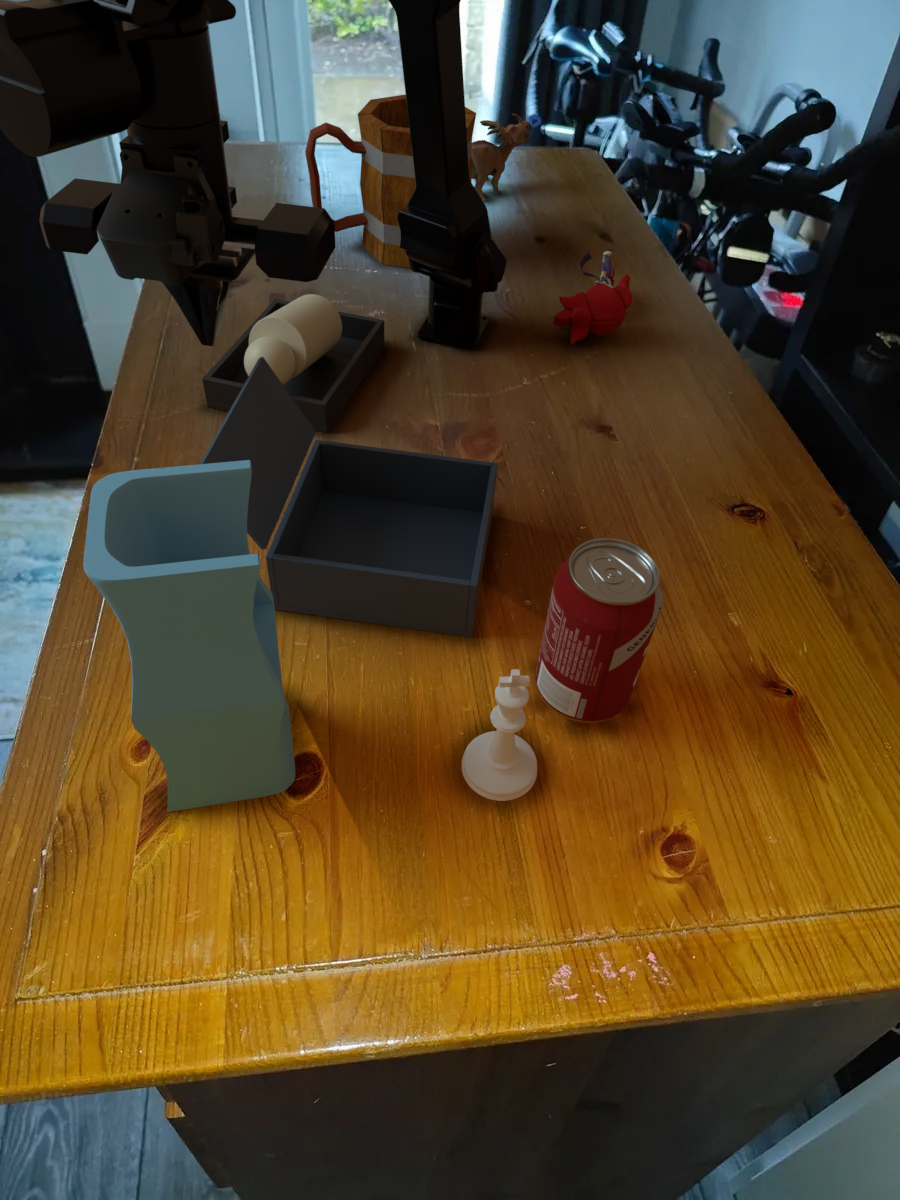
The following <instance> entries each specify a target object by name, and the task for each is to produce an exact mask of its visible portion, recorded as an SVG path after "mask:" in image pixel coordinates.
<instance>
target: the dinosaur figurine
mask: <svg viewBox="0 0 900 1200" xmlns="http://www.w3.org/2000/svg"><path fill="white" fill-rule="evenodd" d="M511 116H513V117H514V118H515V119H516V120H517V122H518V123H517V124H514V123H510V124H508V125H507V126H505V127H504V126H503V125H500V124H501V122H500V121H499V120H496V121H493V120H488V119H487V120H485V119H484V120H480V121H479V124H480V125H481V126H483V127H487V131H488V130H489V131H488V132H487V134H486V136H489V135H493V134H496V135H495V138H494V143H495V144H494V143H492V142H490V141H487V140H485V139H480V140H479V139H478V140H475V141H472V149H471V178H472V180H475V185H474V188H475V189H476V191H477V192H478V194H479V196H480V197H481V199H482V201H483V202H488V201H489V200H490V197H489V196H488V195H487V193H486V194H485V192H484V191H483V187H484V185H485V183H486V182H488V180H490V178H489V176H490V177H492V178H491V186H492V190H493V193H495V194H496V195H503V192H501V190H499V181H500V179H501V177H502V174H503V173H504V172H505V170H506V163H507V161H508V159H509V157H510V155H511V154H512V152H513V150H514V149H515V148H516V147H518V146H520V144H528V143H529V142H530V140H531V139H530V137H529V136H530V133H529V131H532V130H533V126H532V124H531V123H529V122H528V121H526V120H523V119H522V117H521V116H520V115H518V114H517V113H512V114H511ZM499 138H500V144H499V145H497V144H496V142H497V141H498V140H499Z"/></svg>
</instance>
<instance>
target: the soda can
mask: <svg viewBox="0 0 900 1200" xmlns="http://www.w3.org/2000/svg"><path fill="white" fill-rule="evenodd" d="M660 579H661V572H660V569H659V566H658V564H657V562H656V561H655V559H654V558H653V557H652V556H651V555H650V553H649V552H647V551H646V550H645V549H643V548H641V547H640V546H638V545H636V544H635V543H632V542H630V541H627V540H623V539H620V538H615V537H614V538H613V537H601V538H600V537H598V538H593V539H588V540H586V541H585V542H582V543H581V544H579V545H577V547H575V548H574V549H573V550H572V552H571V554H570V556H569V558H568V559H567V560H565V562H563V563H562V564H561V566H560V567H559V568H558V570H557V572H556V574H555V576H554V579H553V584H552V589H551V594H550V599H549V603H548V609H547V614H546V619H545V624H544V629H543V634H542V639H541V644H540V648H539V653H538V658H537V663H536V668H535V672H534V673H535V674H534V683H535V687H536V691H537V694H538V695H539V697H540V698H541V700H542V702H543V703H544V704H545V705H546V706H547V707H548V708H549V709H550V710H551V711H553V712H554V713H555V714H557V715H559V716H561V717H563V718H565V719H566V720H567V719H568V720H571V721H574V722H576V723H577V722H578V723H584V724H596V723H602V722H606V721H609V720H612V719H614V718H616V717H617V716H619V715H620V714H621V713H622V712H623V711H624V710H625V709H626V707H627V706H628V704H629V703H630V700H631V698H632V694H633V692H634V688H635V685H636V683H637V680H638V677H639V674H640V671H641V669H642V666H643V662H644V660H645V657H646V654H647V652H648V650H649V649H648V648H649V646H650V643H651V640H652V637H653V634H654V632H655V629H656V625H657V623H658V621H659V620H658V619H659V617H660V614H661V611H662V608H663V604H664V592H663V588H662V585H661V582H660Z"/></svg>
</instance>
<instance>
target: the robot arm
mask: <svg viewBox="0 0 900 1200" xmlns="http://www.w3.org/2000/svg"><path fill="white" fill-rule="evenodd" d="M388 2H389V4H390V6H391V8H393V11H394V12H395V16H396V21H397V29H398V38H399V39H398V41H399V47H400V49H399V50H400V57H401V65H402V74H403V82H404V91H405V94H406V102H407V110H408V119H409V128H410V137H411V145H412V154H413V163H414V172H415V181H416V187H415V190H414V192H413V194H412V195H411V197H410V199H409V201H408V203H407V205H406V207H405V208H404V209H402V210H400V211H399V213H398V216H397V219H398V223H399V226H400V231H401V242H400V248H402V249H405V251H406V254H407V256H408V258H409V262H410V266H411V268H410V270H411V271H412V272H414V273H419V274H422V275H424V276H426V277H429V279H428V281H429V282H428V302H427V303H428V308H427V316H426V318H425V320H424V322H423V323H422V325H421V326H420V327H419V330H418V331H417V334H416V335H417V338H418V339H420V340H425V341H430V342H434V343H439V344H445V345H448V346H456V347H459V348H465V349H470V350H474V349H476V348H477V346H478V344H479V342H480V340H481V338H482V337H483V335H484V333H485V331H486V329H487V327H488V325H489V324H490V317H488V316H487V315H482V309H483V299H484V298H483V296H484V295H483V294H484V293H485V294H486V293H494V292H496V291H498V286H499V283H500V282H502V281H503V278H504V275H505V272H506V271H505V270H506V267H507V263H508V259H507V257H506V256H505V255H504V253H503V252H502V250H501V249H500V248H499V246H498V245H497V243H495V240H493V238H492V231H491V224H490V217H489V212H488V207H487V205H486V204H485V201H483V200H482V199H481V197H480V196H479V194H478V192H477V191H476V189H475V188H474V187H475V185H474V184H473V182H471V181H470V179H469V168H468V151H467V133H466V116H465V107H466V103H465V102H466V101H465V100H466V99H465V85H464V84H465V83H464V68H463V67H464V66H463V65H464V64H463V51H462V50H463V49H462V48H463V47H462V33H461V15H460V14H461V13H460V7H461V6H460V4H461V0H388ZM236 15H237V9H236V6H235V5H234V4H233V3H232V2H231V1H230V0H22V1H16V0H15V1H14V0H0V130H1V131H2V133H3V134H4V136H6V138H7V139H8V141H10V142H11V143H12V144H13V146H15V147H16V148H17V150H20V151H21V152H22V153H24V154H25V155H27V156H29V157H32V158H40V157H44V156H47V155H50V154H53V153H54V154H55V153H56V152H61V151H63V150H67V149H71V148H73V147H76V146H81V145H83V144H86V143H90V142H93V141H96V140H100V139H103V138H107V137H110V136H114V135H116V134H120V133H122V132H125V131H126V133H127V135H126V136H125V137H124V138H122V139H121V140H120V141H119V142H118V144H119V148H120V152H119V159H120V164H121V174H120V176H121V177H120V183H117V182H109V181H100V180H92V179H86V178H85V179H83V178H75V177H74V178H73V179H72V180H70V182H69V183H68V184H66V185H64V187H63V188H61V189H60V190H58V191H57V192H56V193H55V194H53V195H52V196H51V197H49V199H48V200H46V201H45V202H44V203H43V205H42V207H41V208H40V214H39V225H40V228H41V229H40V230H41V232H42V235H43V239H44V242H45V245H46V247H47V248H48V249H49V250H50V251H54V252H55V251H56V252H62V253H63V252H64V253H71V254H77V255H78V254H79V255H85V256H86V255H88V254H89V253H90V252H92V250H93V249H94V248H95V246H96V245H97V244H98V243H99V242H100V241H101V244H102V246H103V249H104V250H105V252H106V254H107V256H108V259H109V261H110V264H111V265H112V267H113V269H114V271H115V274H116V275H117V276H118V277H120V278H121V279H124V280H130V281H134V280H135V279H140V280H148V281H155V282H161V283H162V284H163V285H164V287H165V289H167V291H168V292H169V294H170V295H171V296H172V298H173V299H174V301H175V303H176V305H178V307H179V310H180V311H181V312H182V314H183V315H184V317H185V319H186V321H187V322H188V324H189V326H190V327H191V330H192V331H193V332H194V334H195V336H196V338H197V339H198V341H199V343H200V344H201V345H202V346H205V347H206V346H208V347H214V345H215V344H216V343H217V340H218V338H219V333H220V330H221V326H222V322H223V318H224V314H225V310H226V306H227V302H228V298H229V294H230V290H231V287H232V284H233V282H234V281H236V280H238V278H239V277H240V276H241V274H242V272H243V271H244V269H246V267H247V265H248V264H249V263H250V262H251V260H252V258H253V257H255V265H256V266H257V267H258V268H259V269H260V271H262V272H263V273H264V274H265V275H266V276H267V277H268V278H269V279H270V278H271V279H278V280H286V281H295V282H302V283H309V282H313V281H317V280H318V279H319V277H320V275H321V274H322V272H323V271H324V268H325V266H326V265H327V263H328V262H329V259H330V258H331V256H332V255H333V253H334V251H335V249H336V232H335V224H334V222H333V220H334V219H333V218H332V217H331V215H330V214H329V212H328V211H327V209H326V208H325V207H322V208H317V207H313V206H309V205H300V204H291V203H282V202H276V203H275V204H274V205H273V207H272V208H271V210H270V211H269V212H268V213H267V215H266V216H265V217H264V219H257V218H253V217H252V216H248V215H240V214H233V208H234V207H235V206H236V204H237V203H238V198H237V197H238V196H237V189H236V187H235V186H230V184H229V175H228V169H227V159H226V152H225V146H224V144H226V142H227V141H228V140H229V139H230V132H229V123H228V121H227V120H223V119H222V120H221V112H220V107H219V106H220V105H219V97H218V90H217V89H218V88H217V82H216V81H217V80H216V74H215V73H216V72H215V66H214V57H213V50H212V42H211V35H210V27H209V26H210V25H212V24H216V23H220V22H224V21H229V20H232V19H235V17H236Z"/></svg>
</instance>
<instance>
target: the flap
mask: <svg viewBox="0 0 900 1200" xmlns="http://www.w3.org/2000/svg"><path fill="white" fill-rule="evenodd" d="M316 432H317V431H315V430H314V429H313V427H312V426H311V424H310V423H309V422H308V420H307V419H306V417H305V416H304V414H303V413H302V412H301V410H300V409H299V407H298V406H297V404H296V403H295V402H294V400H293V399H292V397H291V396H290V395H289V393H288V392H287V390H286V389H285V387H284V386H283V385H282V383H281V382H280V380H279V379H278V377H277V376H276V375H275V373H274V372H273V370H272V369H271V367H270V366H269V365H268V363H267V362H266V360H265V359H264V358H263V357H261V358H259V359H258V361H257V363H256V364H255V366H254V368H253V370H252V372H251V373H250V375H249V377H248V379H247V380H246V382H245V384H244V386H243V387H242V389H241V391H240V393H239V395H238V396H237V398H236V400H235V402H234V403H233V405H232V407H231V409H230V411H227V414H226V415H225V418H224V419H223V421H222V423H221V425H220V427H219V428H218V430H217V432H216V434H215V435H214V437H213V439H212V440H211V442H210V444H209V446H208V448H207V449H206V451H205V453H204V455H203V456H202V458H201V460H200V462H199V464H209V463H221V462H232V461H243V460H250V461H251V468H252V476H251V484H250V493H249V502H248V514H247V535H248V536H249V537H250V538H251V539H252V541H254V542H255V544H256V545H257V547H259V549H260V550H261V551H263V550H266V549H267V547H268V545H269V543H270V541H271V538H272V536H273V533H274V531H275V529H276V527H277V524H278V522H279V519H280V517H281V515H282V513H283V510H284V507H285V506H286V503H287V501H288V499H289V496H290V494H291V491H292V489H293V486H294V484H295V482H296V480H297V477H298V475H299V473H300V470H301V468H302V465H303V464H304V461H305V459H306V457H307V453H308V451H309V449H310V447H311V445H312V442H313V440H314V437H315V435H316Z"/></svg>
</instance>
